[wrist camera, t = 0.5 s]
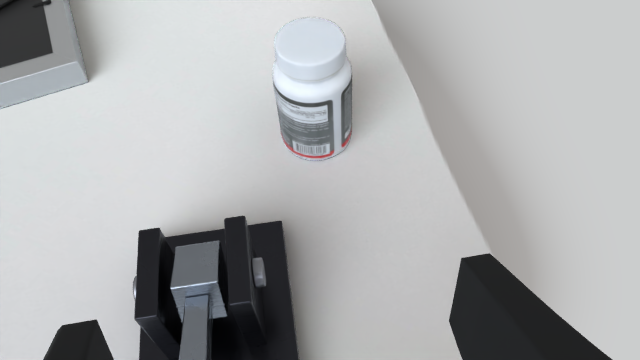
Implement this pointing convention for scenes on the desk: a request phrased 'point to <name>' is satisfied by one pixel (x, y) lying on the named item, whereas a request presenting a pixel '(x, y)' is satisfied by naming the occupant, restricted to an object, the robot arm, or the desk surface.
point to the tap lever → (199, 295)
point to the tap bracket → (243, 294)
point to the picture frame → (37, 50)
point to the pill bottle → (313, 88)
